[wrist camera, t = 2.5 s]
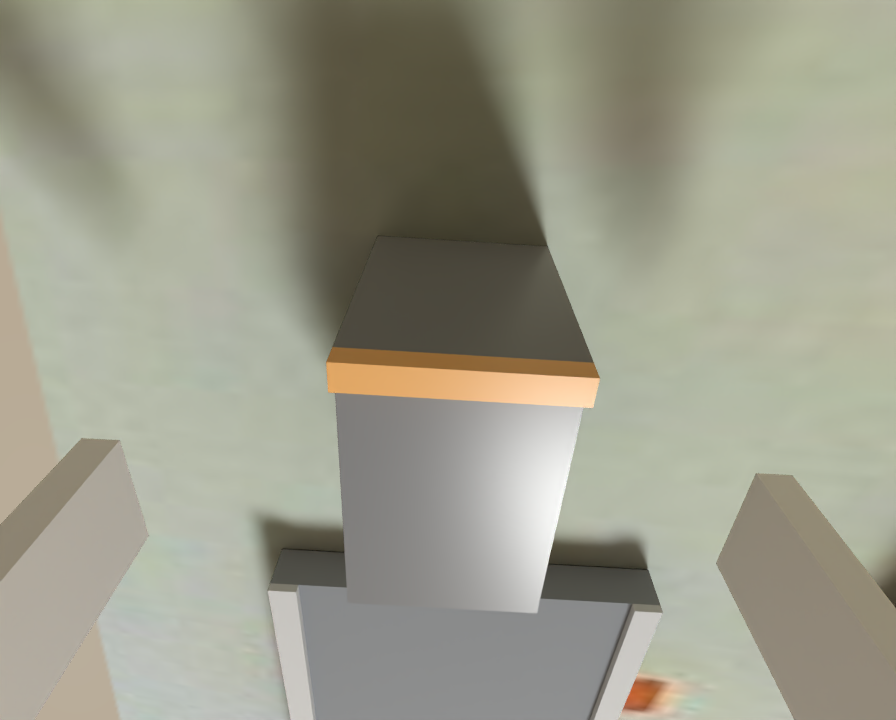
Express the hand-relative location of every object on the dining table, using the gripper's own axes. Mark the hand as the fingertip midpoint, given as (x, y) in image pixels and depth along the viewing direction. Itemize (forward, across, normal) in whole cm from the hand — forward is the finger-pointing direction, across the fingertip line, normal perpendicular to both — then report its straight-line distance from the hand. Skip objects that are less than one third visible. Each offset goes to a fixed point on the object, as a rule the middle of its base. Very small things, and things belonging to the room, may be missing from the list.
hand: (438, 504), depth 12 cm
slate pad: (+6, +1, -18) cm, 19 cm away
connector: (+6, 0, -1) cm, 6 cm away
